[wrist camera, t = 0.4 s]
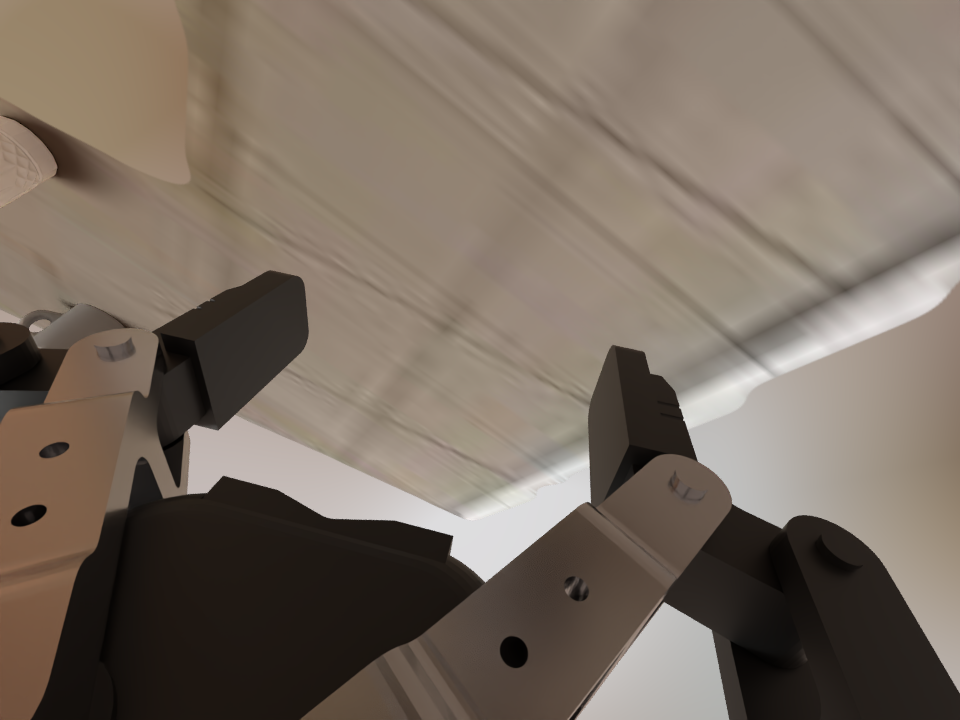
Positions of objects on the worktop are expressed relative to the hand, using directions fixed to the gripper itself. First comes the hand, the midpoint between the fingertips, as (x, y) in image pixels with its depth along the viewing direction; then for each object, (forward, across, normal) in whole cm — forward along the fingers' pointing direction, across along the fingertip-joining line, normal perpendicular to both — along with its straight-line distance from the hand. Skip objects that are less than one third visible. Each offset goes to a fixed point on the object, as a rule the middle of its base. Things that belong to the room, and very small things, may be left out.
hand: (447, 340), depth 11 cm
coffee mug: (+45, +73, +39) cm, 94 cm away
